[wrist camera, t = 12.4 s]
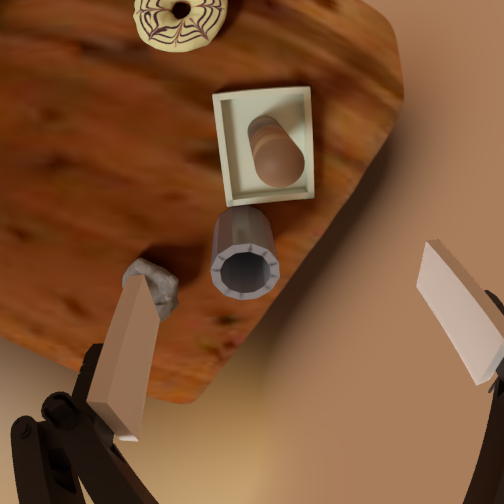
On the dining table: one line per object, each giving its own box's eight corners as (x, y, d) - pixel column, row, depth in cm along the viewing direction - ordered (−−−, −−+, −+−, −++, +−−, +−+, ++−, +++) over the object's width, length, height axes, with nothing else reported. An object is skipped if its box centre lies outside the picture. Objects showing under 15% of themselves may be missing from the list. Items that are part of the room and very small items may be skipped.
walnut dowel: (245, 117, 36) (250, 124, 24) (279, 114, 36) (302, 120, 24) (250, 160, 39) (257, 191, 26) (283, 157, 39) (306, 186, 26)
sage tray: (213, 93, 35) (212, 94, 33) (305, 85, 35) (310, 86, 33) (227, 198, 43) (227, 206, 40) (310, 190, 43) (314, 197, 40)
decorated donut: (137, 54, 32) (127, 53, 29) (144, -23, 26) (136, -31, 23) (223, 54, 33) (221, 52, 30) (231, -25, 27) (231, -34, 24)
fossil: (147, 234, 45) (133, 266, 38) (199, 266, 48) (195, 301, 41) (116, 284, 49) (102, 318, 42) (163, 310, 52) (156, 346, 46)
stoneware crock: (211, 209, 43) (206, 248, 35) (268, 202, 43) (277, 240, 35) (219, 257, 47) (216, 302, 39) (271, 251, 47) (280, 295, 39)
